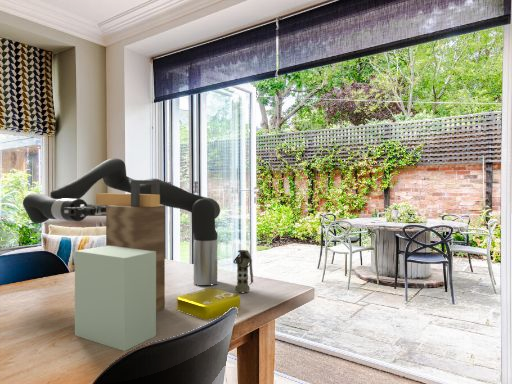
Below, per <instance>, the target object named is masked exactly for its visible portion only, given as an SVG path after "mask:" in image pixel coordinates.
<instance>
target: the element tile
mask: <svg viewBox="0 0 512 384" xmlns="http://www.w3.org/2000/svg"><path fill="white" fill-rule="evenodd" d="M232 307H237V308H239V307H240V308H241V296H240V295H239V294H238V293H233V292H229V291H225V290H221V289H217V288H213V287H207V288H203V289H199V290H196V291H191V292H190V293H185V294H182V295H178V296H177V297H176V311H178V310H180V311H183V312H185V313H184V314H186V313H188V314H187V315H189V314H191V315H190V316H192V315H193V316H192V317H195V316H196V317H195V318H197V317H199V318H198V319H200V318H201V320H204V319H205V320H204V321H210V320H209V319H211V320H214V319H217V318H219V316H220V317H222V316H224V315H223V314H224V313H225V312H227V311H228V310H229V309H230V308H232ZM180 311H179V312H180ZM183 312H182V313H183ZM221 315H222V316H221Z"/></svg>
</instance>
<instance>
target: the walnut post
mask: <svg viewBox="0 0 512 384" xmlns="http://www.w3.org/2000/svg"><path fill="white" fill-rule="evenodd" d="M105 206H106V214H105V246H116V247H124V248H132V249H140V250H148V251H156V312H158V310H159V311H162V310H163V308H164V309H165V307H166V306H165V304H166V302H165V298H166V297H165V296H166V295H165V291H166V289H165V288H166V286H165V285H166V283H165V277H166V276H165V273H166V270H165V267H166V265H165V263H166V260H165V259H166V257H165V256H166V252H165V251H166V248H165V247H166V246H165V245H166V244H165V243H166V241H165V240H166V238H165V237H166V235H165V234H166V224H165V223H166V206H165V205H160V206H157V207H143V206H140V207H131V206H121V205H105Z"/></svg>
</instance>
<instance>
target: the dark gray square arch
mask: <svg viewBox="0 0 512 384" xmlns="http://www.w3.org/2000/svg"><path fill="white" fill-rule="evenodd" d="M140 184H151V194H157V195H160V181H155V180H147V179H144V180H143V179H134V180H131V193H130V194H131V207H140Z"/></svg>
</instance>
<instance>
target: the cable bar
mask: <svg viewBox="0 0 512 384" xmlns="http://www.w3.org/2000/svg"><path fill="white" fill-rule="evenodd" d="M95 194H96V195H95V197H96V198H95V205H101V206H115V205H121V206H131V193H112V192H111V193H107V192H105V193H103V192H101V193H100V192H99V193H95ZM140 206H143V207H157V206H160V195H157V194H140Z"/></svg>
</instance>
